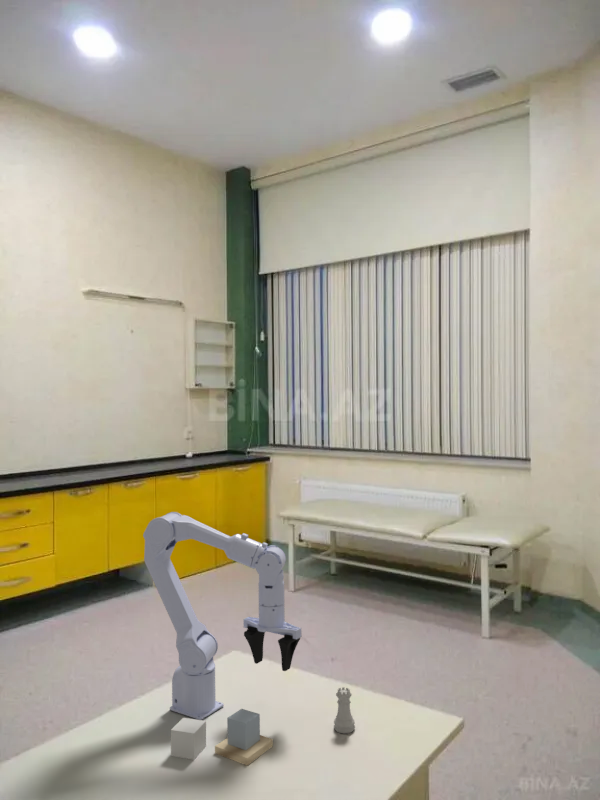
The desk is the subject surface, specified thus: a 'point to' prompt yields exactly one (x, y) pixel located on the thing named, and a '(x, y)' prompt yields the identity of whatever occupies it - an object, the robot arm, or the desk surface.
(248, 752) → the maple block
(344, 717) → the rook chess piece
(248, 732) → the slate block
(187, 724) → the grey cube
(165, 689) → the desk surface
